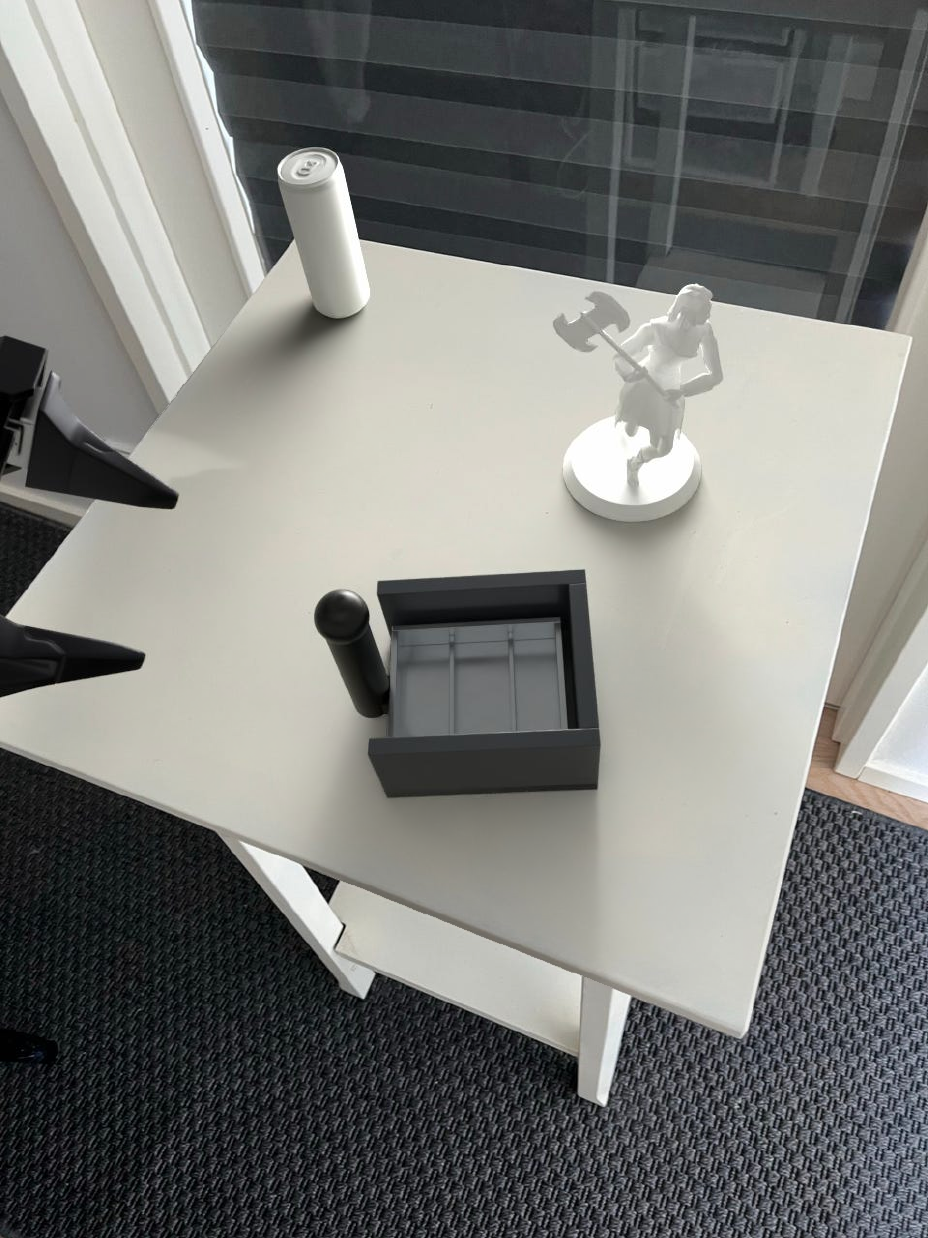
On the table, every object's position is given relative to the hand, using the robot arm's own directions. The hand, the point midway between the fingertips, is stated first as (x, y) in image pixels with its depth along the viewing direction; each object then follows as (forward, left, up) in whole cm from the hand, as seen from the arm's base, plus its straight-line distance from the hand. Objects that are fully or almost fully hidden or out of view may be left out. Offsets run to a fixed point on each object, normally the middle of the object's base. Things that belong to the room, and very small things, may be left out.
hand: (161, 576), depth 44 cm
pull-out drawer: (+13, 0, -14) cm, 19 cm away
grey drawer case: (+15, 0, -15) cm, 21 cm away
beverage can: (+3, +38, -15) cm, 41 cm away
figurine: (+25, +18, -15) cm, 34 cm away
